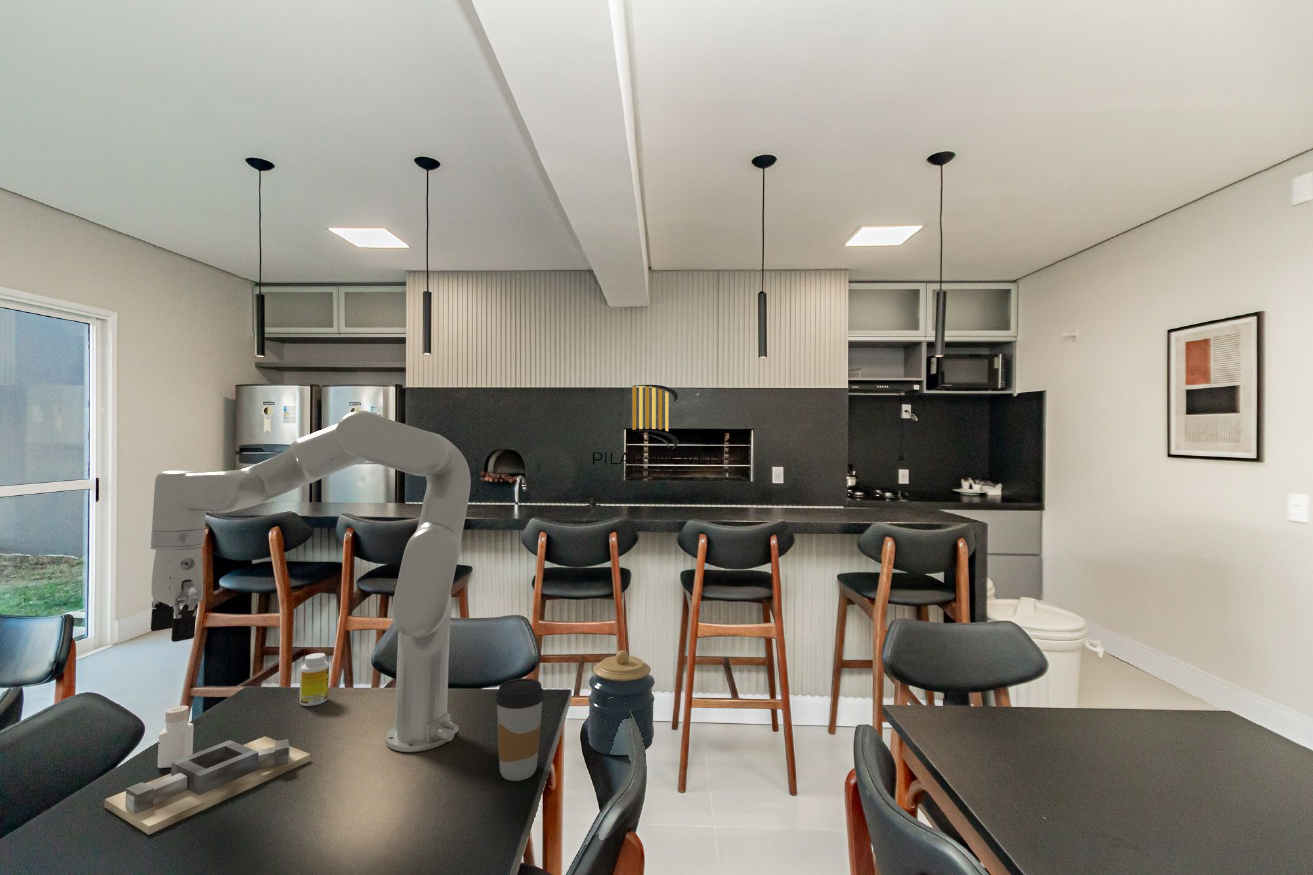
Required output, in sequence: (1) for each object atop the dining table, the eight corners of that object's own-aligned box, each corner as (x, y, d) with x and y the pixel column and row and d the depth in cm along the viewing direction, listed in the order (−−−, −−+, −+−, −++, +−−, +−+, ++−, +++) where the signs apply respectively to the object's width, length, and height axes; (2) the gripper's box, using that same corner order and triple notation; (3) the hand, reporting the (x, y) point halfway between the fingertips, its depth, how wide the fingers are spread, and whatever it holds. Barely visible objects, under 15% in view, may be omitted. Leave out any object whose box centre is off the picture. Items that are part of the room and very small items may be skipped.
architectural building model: (265, 742, 114) (265, 720, 114) (310, 760, 108) (311, 737, 108) (104, 807, 93) (105, 779, 93) (148, 834, 86) (149, 805, 86)
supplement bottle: (330, 702, 133) (331, 656, 133) (301, 709, 129) (303, 661, 129) (325, 694, 137) (326, 649, 137) (297, 700, 133) (298, 654, 134)
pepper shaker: (182, 767, 105) (184, 712, 105) (155, 769, 104) (157, 714, 104) (194, 756, 109) (196, 703, 109) (168, 758, 108) (170, 705, 108)
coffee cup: (551, 771, 105) (553, 685, 106) (511, 790, 99) (513, 699, 100) (524, 754, 111) (526, 673, 112) (484, 771, 105) (486, 685, 105)
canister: (612, 721, 126) (614, 636, 126) (665, 736, 119) (667, 647, 120) (573, 746, 115) (575, 653, 115) (630, 765, 108) (631, 666, 109)
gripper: (222, 542, 106) (217, 639, 105) (184, 532, 116) (178, 621, 115) (171, 546, 100) (164, 649, 99) (134, 535, 109) (128, 630, 109)
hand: (172, 634), depth 107 cm, fingers open, 9 cm apart
